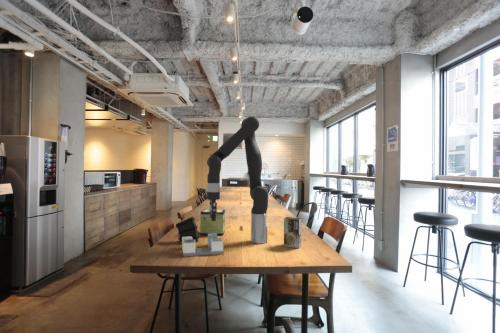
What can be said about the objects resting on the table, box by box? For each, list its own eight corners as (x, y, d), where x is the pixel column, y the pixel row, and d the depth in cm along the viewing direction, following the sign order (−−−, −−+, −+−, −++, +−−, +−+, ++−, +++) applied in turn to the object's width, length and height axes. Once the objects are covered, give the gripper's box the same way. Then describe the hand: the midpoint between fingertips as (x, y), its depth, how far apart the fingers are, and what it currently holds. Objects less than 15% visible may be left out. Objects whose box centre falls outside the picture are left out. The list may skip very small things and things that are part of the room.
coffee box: (301, 245, 151) (302, 217, 151) (299, 248, 145) (299, 219, 145) (286, 243, 155) (286, 216, 155) (283, 246, 149) (283, 218, 149)
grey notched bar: (221, 249, 141) (221, 237, 141) (223, 254, 134) (223, 241, 134) (183, 252, 136) (183, 239, 136) (183, 256, 129) (183, 243, 129)
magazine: (201, 240, 152) (191, 217, 153) (182, 249, 154) (172, 225, 155) (203, 239, 156) (193, 215, 157) (184, 247, 158) (174, 224, 159)
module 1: (190, 246, 146) (191, 236, 146) (192, 249, 142) (192, 237, 142) (181, 247, 144) (181, 237, 144) (183, 250, 140) (183, 238, 140)
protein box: (223, 235, 171) (223, 212, 171) (199, 235, 171) (200, 211, 171) (225, 231, 181) (225, 209, 181) (202, 231, 181) (203, 209, 181)
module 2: (216, 244, 151) (216, 232, 151) (217, 246, 146) (217, 234, 146) (207, 245, 150) (207, 233, 150) (208, 247, 145) (208, 235, 145)
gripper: (221, 192, 142) (220, 221, 142) (218, 189, 156) (217, 217, 156) (207, 192, 141) (207, 222, 140) (205, 189, 154) (205, 217, 154)
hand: (212, 219), depth 148 cm, fingers open, 8 cm apart
